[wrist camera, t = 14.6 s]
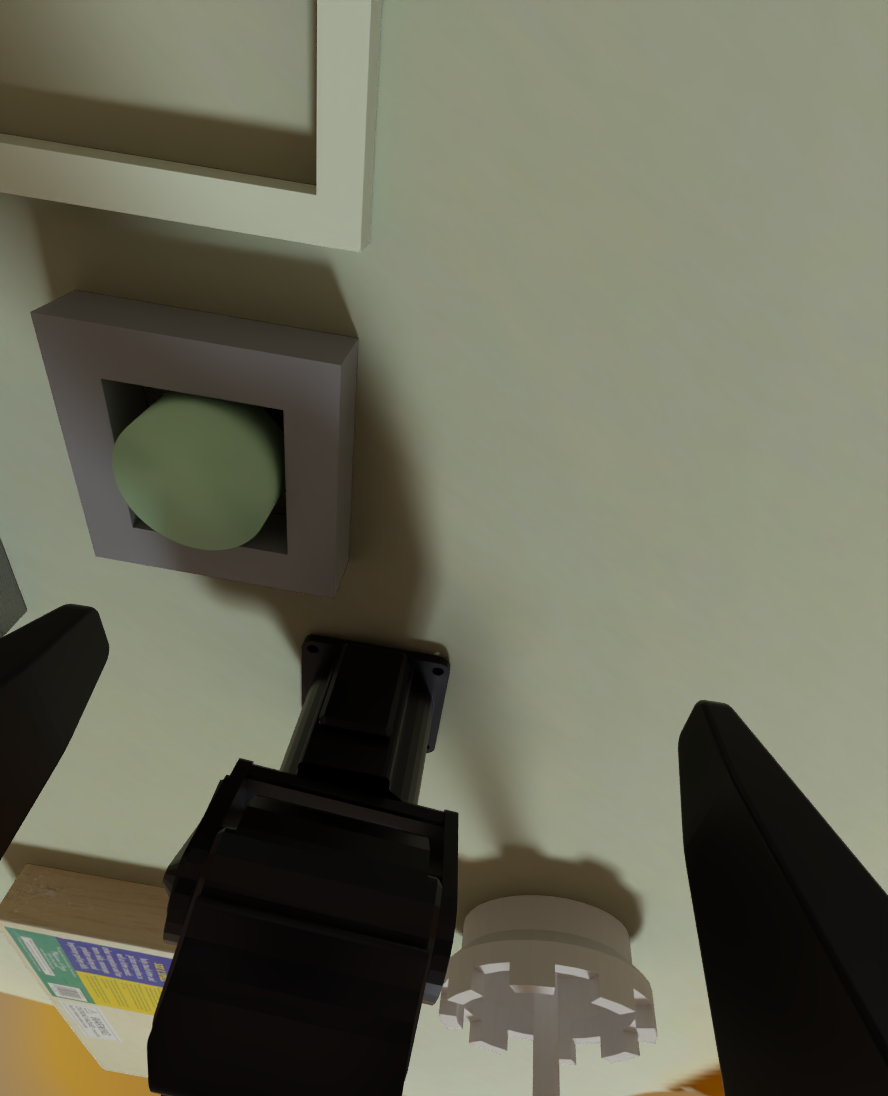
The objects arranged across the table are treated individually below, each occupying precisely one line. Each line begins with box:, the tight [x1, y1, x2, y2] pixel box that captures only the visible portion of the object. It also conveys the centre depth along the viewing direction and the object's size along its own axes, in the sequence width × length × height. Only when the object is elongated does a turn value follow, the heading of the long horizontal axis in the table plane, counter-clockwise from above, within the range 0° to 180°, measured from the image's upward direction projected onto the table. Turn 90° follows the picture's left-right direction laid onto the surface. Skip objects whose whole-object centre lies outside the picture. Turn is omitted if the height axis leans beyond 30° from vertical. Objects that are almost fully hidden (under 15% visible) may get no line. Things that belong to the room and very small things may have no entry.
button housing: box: [30, 290, 358, 598], centre depth 22 cm, size 9×9×2 cm
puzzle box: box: [0, 864, 177, 1078], centre depth 56 cm, size 36×5×24 cm
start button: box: [112, 390, 286, 550], centre depth 21 cm, size 5×5×2 cm
